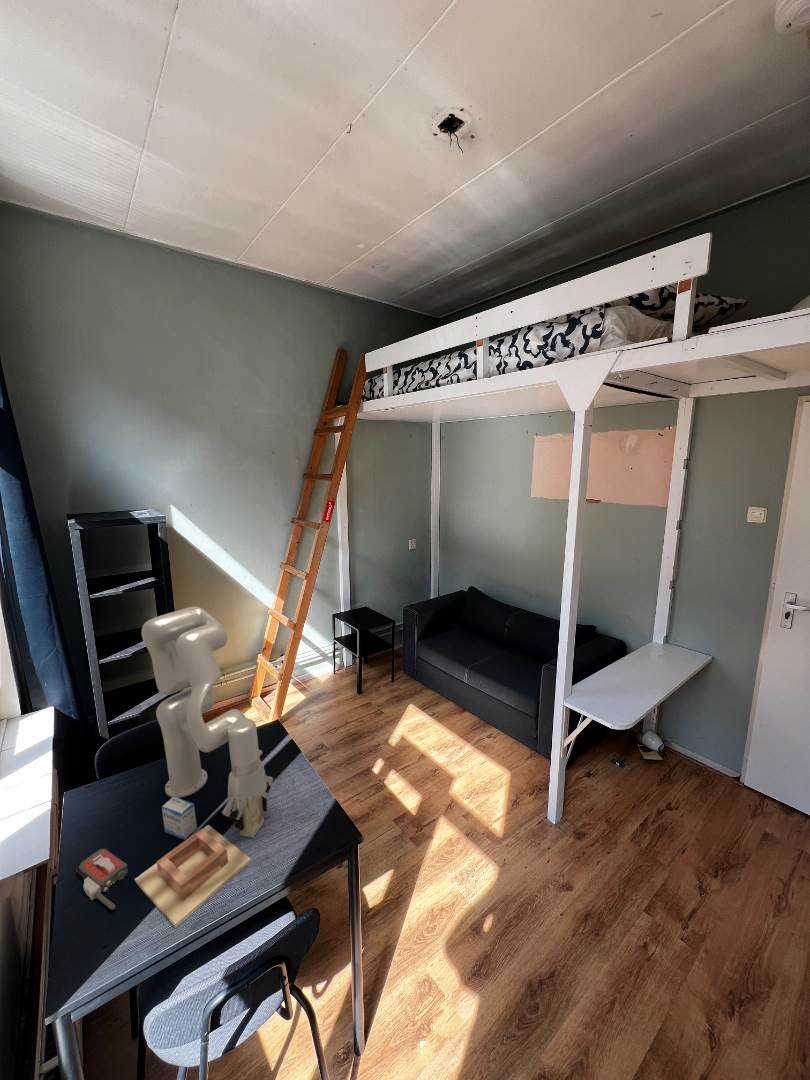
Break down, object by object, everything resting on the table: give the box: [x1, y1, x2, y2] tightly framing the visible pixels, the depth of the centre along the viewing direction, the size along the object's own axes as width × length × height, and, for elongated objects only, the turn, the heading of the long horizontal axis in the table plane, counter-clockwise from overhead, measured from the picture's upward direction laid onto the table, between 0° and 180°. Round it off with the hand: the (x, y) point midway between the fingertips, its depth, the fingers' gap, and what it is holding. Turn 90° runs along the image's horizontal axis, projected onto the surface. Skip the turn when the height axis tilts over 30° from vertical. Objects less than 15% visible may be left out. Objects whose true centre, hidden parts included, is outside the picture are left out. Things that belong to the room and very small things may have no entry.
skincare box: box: [239, 795, 265, 839], centre depth 125 cm, size 6×4×12 cm
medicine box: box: [161, 797, 198, 841], centre depth 125 cm, size 8×4×9 cm, turn 68°
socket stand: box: [134, 824, 252, 929], centre depth 112 cm, size 20×20×5 cm
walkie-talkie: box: [75, 848, 129, 911], centre depth 110 cm, size 9×4×20 cm
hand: (251, 818), depth 125 cm, fingers closed on skincare box, 7 cm apart
